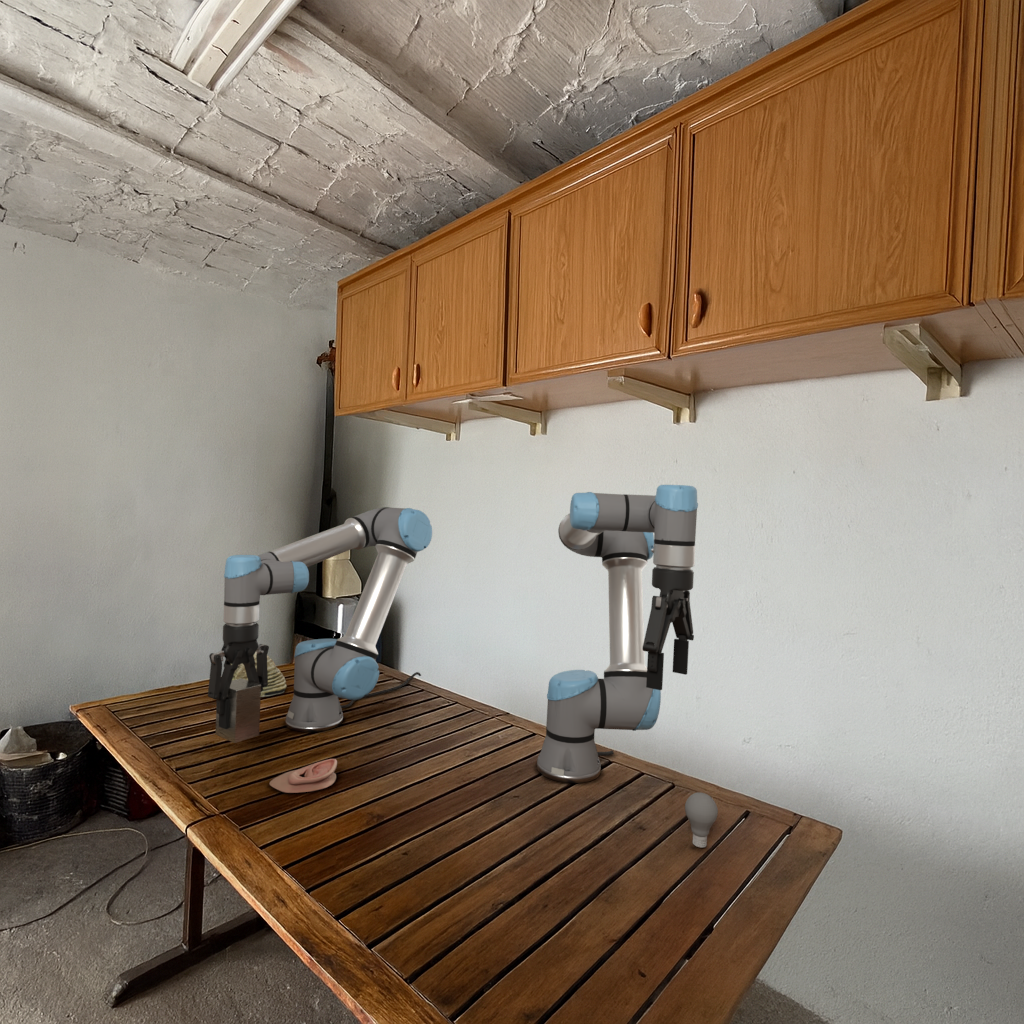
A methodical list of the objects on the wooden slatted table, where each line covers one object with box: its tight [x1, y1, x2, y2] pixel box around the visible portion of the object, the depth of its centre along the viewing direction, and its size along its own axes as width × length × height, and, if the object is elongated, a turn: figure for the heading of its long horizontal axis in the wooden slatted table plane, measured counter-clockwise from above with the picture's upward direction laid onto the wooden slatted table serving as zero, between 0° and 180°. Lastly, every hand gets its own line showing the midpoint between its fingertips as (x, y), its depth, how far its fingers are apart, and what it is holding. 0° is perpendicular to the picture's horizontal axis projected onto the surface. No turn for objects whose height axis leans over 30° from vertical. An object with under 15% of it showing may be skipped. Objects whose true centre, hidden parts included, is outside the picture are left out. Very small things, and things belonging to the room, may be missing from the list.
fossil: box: [231, 652, 288, 698], centre depth 198 cm, size 9×18×15 cm, turn 132°
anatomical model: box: [269, 758, 338, 794], centre depth 140 cm, size 13×4×12 cm
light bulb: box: [684, 792, 719, 849], centre depth 120 cm, size 6×6×10 cm
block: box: [215, 678, 262, 744], centre depth 145 cm, size 6×8×12 cm
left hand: (237, 723), depth 145 cm, fingers closed on block, 6 cm apart
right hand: (667, 680), depth 119 cm, fingers open, 13 cm apart
